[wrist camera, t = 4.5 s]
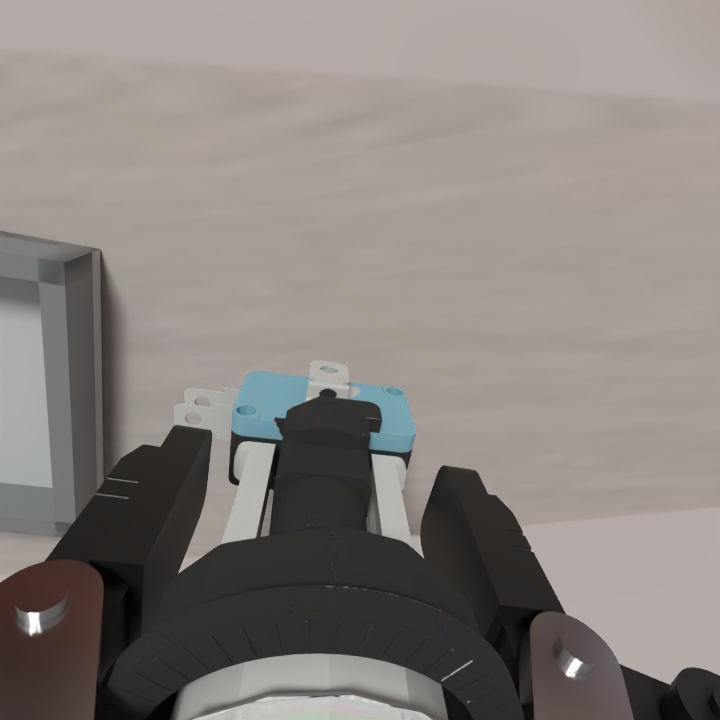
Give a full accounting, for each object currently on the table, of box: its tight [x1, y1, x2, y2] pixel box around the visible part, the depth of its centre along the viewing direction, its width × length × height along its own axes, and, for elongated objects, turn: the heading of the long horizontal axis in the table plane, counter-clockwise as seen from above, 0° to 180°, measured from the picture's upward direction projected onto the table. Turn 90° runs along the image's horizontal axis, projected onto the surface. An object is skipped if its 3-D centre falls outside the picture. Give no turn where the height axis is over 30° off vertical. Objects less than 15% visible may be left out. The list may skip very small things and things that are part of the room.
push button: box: [96, 360, 525, 720], centre depth 9 cm, size 7×5×10 cm
